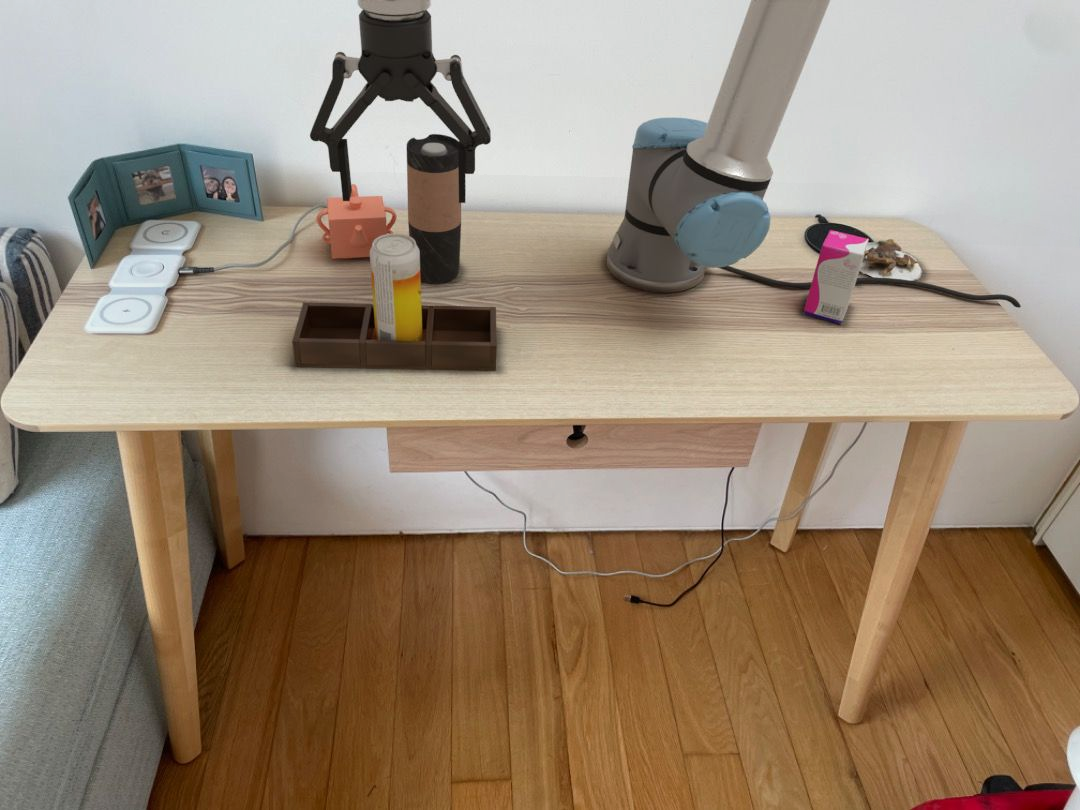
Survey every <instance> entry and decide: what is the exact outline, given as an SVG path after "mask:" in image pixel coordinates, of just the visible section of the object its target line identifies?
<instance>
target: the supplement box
mask: <svg viewBox="0 0 1080 810" xmlns="http://www.w3.org/2000/svg"><path fill="white" fill-rule="evenodd" d="M827 233H828V234H827V235H826V237H825V239H824V241H823V244H822V245H821V248H820V251H819V255H818V259H817V262H816V266H815V270H814V273H813V276H812V279H811V282H812V284H811V287H810V288H809V291H808V294H807V298H806V301H805V306H804V309H803V315H804V316H805V315H806V316H809V317H814V318H817V319H820V320H824V321H828V322H831V323H835V324H838V325H842V323H843V322H844V319H845V316H846V315H847V311H848V309H849V305H850V302H851V299H852V296H853V292H854V290H855V286H856V284H857V283H856V280H857V278H859V277H858V276H859V273H860V271H859V270H860V267H861V264H862V260H863V257H864V254H865V251H866V247H867V244H868V243H869V240H870V239H869V238H866V237H861V236H857V235H854V234H849V233H845V232H842V231H841V232H840V231H836V230H832V229H829V231H828V232H827Z"/></svg>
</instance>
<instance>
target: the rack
mask: <svg viewBox="0 0 1080 810" xmlns="http://www.w3.org/2000/svg"><path fill="white" fill-rule="evenodd" d="M421 308H422V337H423V339H422V341H402V340H376V332H375V319H374V305H373V303H357V302H356V303H355V302H353V303H352V302H348V303H347V302H313V301H312V302H307V301H306V302H305V301H303V302H302V306H301V309H300V312H299V315H298V320H297V323H296V325H295V326H296V327H295V330H294V334H293V337H292V341H291V344H292V351H293V358H294V366H295V368H332V369H333V368H336V369H338V368H339V369H384V370H386V369H387V370H388V369H389V370H432V371H433V370H437V371H439V370H442V371H485V372H486V371H491V372H492V371H495V372H496V371H497V352H498V351H497V349H498V338H497V335H498V333H497V332H498V331H497V306H477V305H476V306H471V305H469V306H468V305H431V304H430V305H427V304H426V305H425V304H421Z"/></svg>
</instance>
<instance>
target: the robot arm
mask: <svg viewBox="0 0 1080 810" xmlns="http://www.w3.org/2000/svg"><path fill="white" fill-rule="evenodd" d="M830 2H831V0H750V2H749V5H748V8H747V11H746V14H745V17H744V20H743V22H742V25H741V28H740V31H739V34H738V37H737V38H736V41H735V45H734V48H733V51H732V54H731V56H730V59H729V62H728V65H727V68H726V70H725V73H724V75H723V78H722V82H721V84H720V87H719V90H718V93H717V96H716V98H715V101H714V104H713V107H712V110H711V113H710V115H709V118H708V121H707V122H705V121H703V120H699V119H693V118H687V117H659V118H652V119H650V120H647V121H644V122H642V123H641V124H640V125H639V126H638V127H637V129H636V132H635V135H634V141H633V144H632V146H631V148H632V154H631V162H630V169H629V178H628V186H627V193H626V194H627V195H626V203H625V210H624V216H623V219H622V221H621V223H620V225H619V227H618V229H617V231H615V233H614V236H613V237H612V241H611V243H610V245H609V246H608V250H607V255H606V256H607V257H606V266H607V269H608V271H609V272H610V273H611V275H612V276H613V277H614V278H616V279H617V280H619V281H620V282H621V283H623V284H625V285H627V286H630V287H632V288H636V289H638V290H642V291H647V292H653V293H678V292H682V291H686V290H689V289H692V288H694V287H696V286H697V285H699V284H700V283H701V282H702V281H703V279H704V277H705V273H706V268H710V269H711V268H713V269H716V268H717V269H720V270H723V271H726V272H729V273H733V274H735V275H738V276H742V277H745V278H747V279H751V280H755V281H758V282H761V283H764V284H768V285H772V286H775V287H783V288H788V289H789V288H790V289H810V287H811V284H812V281H808V282H791V281H782V280H777V279H773V278H769V277H766V276H762V275H759V274H756V273H753V272H749V271H746V270H742V269H740V268H737V267H733V265H735V264H736V263H738V262H739V261H740V260H742V259H746V258H748V257H749V256H750V255H752V254H753V253H754V252H755V251H756V250H758V248H759V247H760V246H761V245H762V243H763V242H764V240H765V239H766V237H767V235H768V232H769V231H770V226H771V213H770V212H769V207H768V204H767V202H765V201H764V198H765V195H766V193H767V190H768V187H769V185H770V183H771V180H772V178H773V174H774V171H773V168H772V165H771V164H770V161H769V159H768V156H769V153H770V151H771V149H772V147H773V144H774V142H775V138H776V136H777V133H778V131H779V129H780V126H781V124H782V121H783V119H784V117H785V114H786V112H787V109H788V106H789V104H790V103H791V99H792V96H793V94H794V92H795V89H796V87H797V84H798V81H799V79H800V77H801V74H802V72H803V70H804V67H805V65H806V62H807V60H808V57H809V55H810V52H811V51H812V47H813V44H814V42H815V40H816V37H817V35H818V32H819V29H820V27H821V24H822V23H823V20H824V17H825V15H826V12H827V10H828V8H829V4H830ZM431 3H432V0H357V6H358V7H359V8H360V9H361V11H360V12H359V14H358V25H359V35H360V37H359V38H360V48H361V49H360V50H361V55H360V57H355V56H354V57H353V56H347V54H345V52H342V51H337V52H336V54H335V56H334V58H333V61H332V70H331V71H332V72H331V73H332V75H331V76H332V77H331V81H330V83H329V85H328V88H327V90H326V93H325V96H324V98H323V100H322V103H321V105H320V107H319V110H318V113H317V115H316V117H315V119H314V123H313V125H312V127H311V130H310V134H309V138H310V140H311V141H312V142H322V143H324V144H325V145H326V147H327V150H328V160H329V161H328V162H329V168H330V170H331V172H332V173H335V172H336V173H339V176H340V177H339V178H340V186H341V197H343V201H350V196H351V192H352V187H351V185H352V177H351V167H350V156H349V146H348V138H344V137H345V136H346V135H347V133H349V131H350V130H351V128H352V127H353V126H354V125H355V123H356V122H357V121H358V120H359V119H360V117H361V116H362V115H363V114H364V112H365V111H366V110H367V109H368V108H369V106H371V105H372V104H373V103H374V101H375V100H376V99H377V97H378V98H379V97H380V99H384V101H385V102H394V101H398V100H399V101H402V102H403V101H404V102H410V103H413V102H414V101H415V100H417V99H418V98H419V99H420V100H421V101H422V102H423V103H424V105H425V106H426V107H429V109H430V110H431V111H432V112H433V113H434V114H435V116H437V117H438V119H439V120H440V121H441V122H442V123H443V124H444V125H445V127H447V129H448V130H449V131H450V132H451V133H452V134H453V136H455V137H456V138H455V139H456V140H458V141H459V145H458V167H459V203H461V204H466V192H467V191H466V190H467V189H466V175H474V174H475V171H476V149H477V147H478V146H481V145H489V144H490V143H491V139H492V135H491V134H492V131H491V128H490V126H489V124H488V123H487V120H486V118H485V116H484V114H483V112H482V109H481V108H480V106H479V104H478V102H477V100H476V98H475V96H474V94H473V92H472V90H471V88H470V86H469V84H468V82H467V80H466V78H465V76H464V72H463V65H462V59H461V57H460V55H458V54H452V55H451V56H450V58H444V59H437V58H435V56H434V53H433V35H432V34H433V33H432V32H433V31H432V29H433V28H432V14H430V12H429V11H428V10H429V9H430V7H431V6H432V4H431ZM355 71H358V72H359V74H360V75H361V76H362V77H363V79H364V80H365V81H366V83H365V85H364V86H363V87H362V89H361V91H360V92H359V93H358V94H357V96H356V97H355V98H354V99H353V101H352V102H351V103H350V105H349V106H348V107H347V108H346V110H345V111H344V112H343V113H342V115H341V116H340V117H339V119H338V120H337V121H336V122H335V123H334V125H333V126H332V127H330V128H329V127H327V125H328V122H329V118H330V117H331V115H332V112H333V110H334V108H335V104H336V102H337V101H338V98H339V95H340V92H341V91H342V87H343V84H344V82H345V79H350V78H351V77H352V76H353V73H354V72H355ZM437 73H440V74H442V76H443V78H444V79H445V81H448V82H451V86H452V89H453V90H454V93H455V95H456V96H457V99H458V100H459V102H460V104H461V107H462V108H463V109H464V112H465V115H466V116H467V118H468V120H469V122H470V124H471V126H472V127H473V130H472V129H471V128H470V127H469V125H468V124H466V122H465V121H464V120H463V119H462V117H461V116H460V115H459V114H458V113H457V111H455V110H454V109H453V107H452V106H451V105H450V104H449V103H448V102H447V100H446V99H445V98H444V97H443V95H441V93H440V92H439V91H438V88H437V87H436V86H435V85H434V84H433V82H432V81H433V80H434V78H435V76H436V75H437ZM861 283H862V284H863V283H875V284H891V285H892V284H893V285H903V286H909V287H915V288H921V289H925V290H930V291H935V292H937V293H938V292H939V293H942V294H945V295H949V296H951V297H956V298H961V299H965V300H970V301H998V300H999V301H1000V300H1001V301H1006V302H1009V303H1010V304H1011V305H1012V306H1013V307H1015V308H1019V309H1020V308H1021V307H1022V306H1021V304H1020V302H1019V301H1018V299H1016V298H1014V297H1013V296H1011V295H1008V294H1001V293H999V294H998V293H997V294H995V293H994V294H971V293H965V292H961V291H957V290H953V289H949V288H946V287H943V286H939V285H935V284H932V283H926V282H921V281H917V280H914V281H910V280H903V279H893V278H876V277H871V276H869V277H868V276H867V277H865V276H864V277H857V280H856V283H855V284H861Z"/></svg>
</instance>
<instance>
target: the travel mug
mask: <svg viewBox="0 0 1080 810" xmlns="http://www.w3.org/2000/svg"><path fill="white" fill-rule="evenodd" d="M458 145H459V140H458V139H457V138H455V137H452V136H449V135H447V134H446V135H445V134H440V133H430V134H429V135H428V136H426V137H424V138H418V139H417V138H416V137H411V138H409V140H408V141H407V142H406V183H407V185H406V187H407V188H406V189H407V223H408V224H407V225H408V236H410V237H412V238H413V239H414V240H415V242H416V245H417V247H418V248H419V251H420V279H421V282H423V283H427V284H435V285H436V284H444V283H449V282H451V281H453V280H455V279H456V278H457V277H458V276H459V274H460V261H461V238H462V203H459V167H458Z"/></svg>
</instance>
